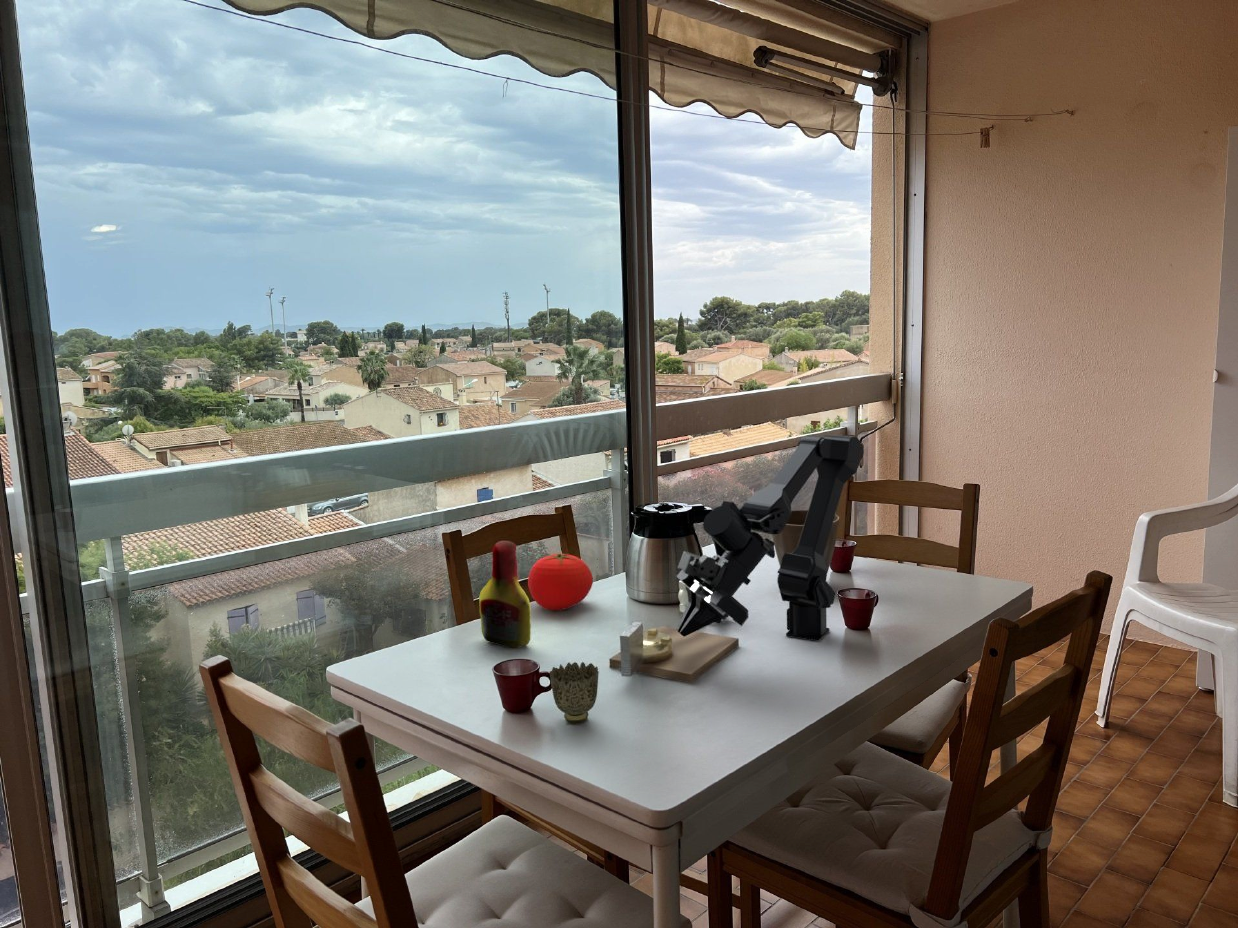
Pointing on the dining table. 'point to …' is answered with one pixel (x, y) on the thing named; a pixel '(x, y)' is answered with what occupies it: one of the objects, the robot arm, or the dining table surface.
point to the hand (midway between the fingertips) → (680, 633)
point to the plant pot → (792, 534)
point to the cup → (575, 690)
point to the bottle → (505, 601)
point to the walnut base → (686, 655)
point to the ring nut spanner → (642, 647)
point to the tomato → (559, 581)
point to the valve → (684, 598)
